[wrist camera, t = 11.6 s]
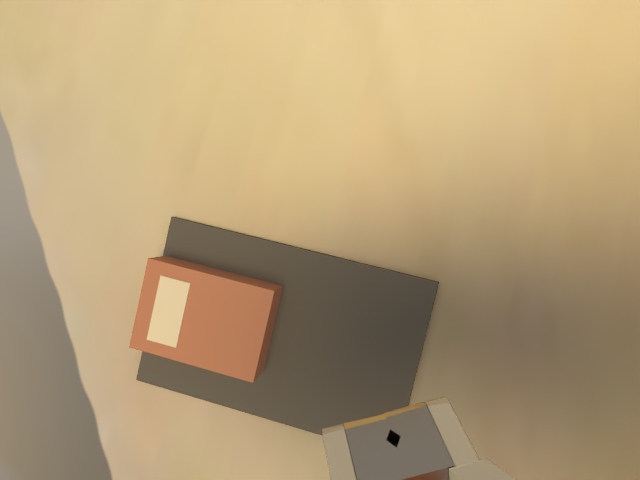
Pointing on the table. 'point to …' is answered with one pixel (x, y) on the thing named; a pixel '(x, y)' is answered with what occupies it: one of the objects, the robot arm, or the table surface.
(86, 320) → the table surface
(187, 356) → the box
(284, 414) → the mat
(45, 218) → the table surface
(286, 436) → the table surface
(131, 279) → the table surface
